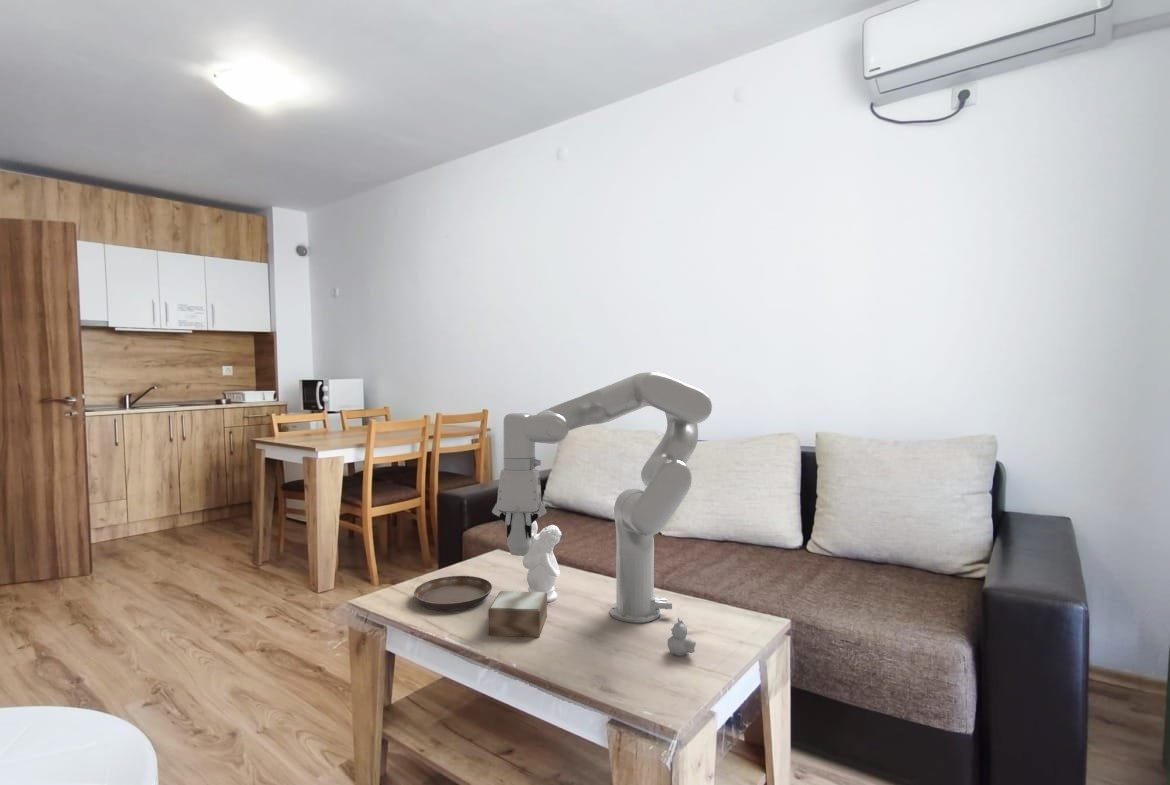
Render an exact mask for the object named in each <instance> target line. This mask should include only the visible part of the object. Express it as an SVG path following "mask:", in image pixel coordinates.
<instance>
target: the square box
mask: <svg viewBox="0 0 1170 785" xmlns="http://www.w3.org/2000/svg"><path fill="white" fill-rule="evenodd" d="M487 611H488V618H487V622H488V625H487V626H488V630H487V631H488V632H487V635H488V636H494V637H495V636H497V637H500V636H501V637H521V636H522V637H523V636H525V637H527V638H540V637H541V634H542V632H543V629H544V626H545V623H546V621H547V619H548V618H547V617H548V602H547V593H545V592H529V591H516V590H513V591H511V590H510V591H509V590H500V591H499V592H498V594H497V595H496V597H495V598H494V600H493V601H492V603H491V604H490V606H489V608H488V610H487ZM525 637H524V638H525Z"/></svg>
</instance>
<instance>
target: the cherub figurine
mask: <svg viewBox="0 0 1170 785" xmlns="http://www.w3.org/2000/svg"><path fill="white" fill-rule="evenodd" d="M538 528H539V527H538V523H537V521H536V520H535V521H534V522H533V523H532V536H531V538H530V539H531V546H530V549H529V551H528V553H527V554H526V555H523V557H522V565H523V567H524V568H526V570H528V572H527V574H526V581H527V584H528V586H529V587H528V588H527V590H528V591H527V592H545V593H547V603H551V602H553V601H556V599H557V598H558V594H557V592H556V591H555V583H556V578H557V577H558V578H559V576H560V575H561V571H560V567H559V564H558V562H557V559H556V556H555V554H554V552H553V551H554V547H555V546H556V545H558V543H560V541H561V537H562V531H561V530H560V529H559V527H558V526H557V525H554V524H550V525H547V526H545V527H544V528H542V530H540V532H538Z"/></svg>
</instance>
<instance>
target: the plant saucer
mask: <svg viewBox="0 0 1170 785" xmlns="http://www.w3.org/2000/svg"><path fill="white" fill-rule="evenodd" d="M492 590H493V584H492V583H491V582H490V581H489V580H487V579H485V578H482V577H478V576H474V575H473V576H472V575H471V576H470V575H451V576H444V577H437V578H433V579H431V580H428V581H425V582H423V583H421V584H420V585H418V586H417V587H416V588H415V589H414V592H413V594H414V595H413V596H414V598H416V600H417V601H418V602H419V603H420V604H421V605H423V606H424V607H425V608H427V609H430V610H433V609H434V610H435V611H440V610H442V611H444V612H449V611H450V612H452V611H460V610H466V609H470V608H473V607H475V606H477V605H479V604H481V603H482V602H483V601H484V600H485V599H486V598H487V597H488V596H489V595H490V593H491V591H492Z"/></svg>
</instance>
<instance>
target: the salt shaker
mask: <svg viewBox="0 0 1170 785" xmlns="http://www.w3.org/2000/svg"><path fill="white" fill-rule="evenodd" d="M515 510H517V511H519V510H520V508H519V506H516V508H515ZM525 525H526V515H525V513H521V512H513V514H512V519H511V532H510V535H509V536H508V537H507V540H506V541H507V542H506V547H507V548H508V550H509V553H510V555H511V556H516V557H518V556H520V557H521V556H524V555H526V554H527V553H528V551H529V549H530V546H531V539H530V538H529V536H528V532H527V538H526V533H525Z"/></svg>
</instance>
